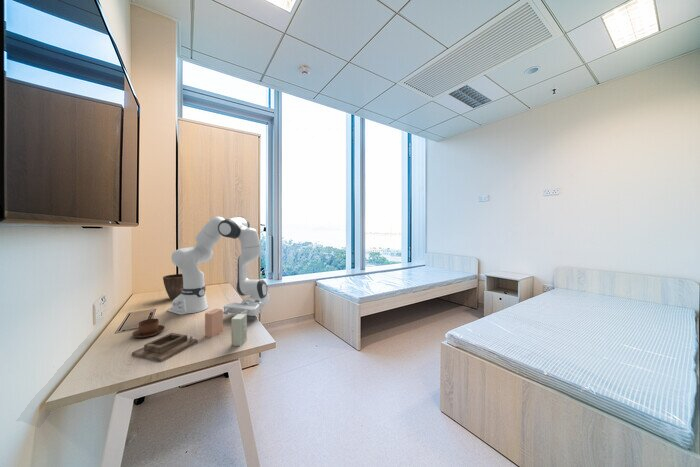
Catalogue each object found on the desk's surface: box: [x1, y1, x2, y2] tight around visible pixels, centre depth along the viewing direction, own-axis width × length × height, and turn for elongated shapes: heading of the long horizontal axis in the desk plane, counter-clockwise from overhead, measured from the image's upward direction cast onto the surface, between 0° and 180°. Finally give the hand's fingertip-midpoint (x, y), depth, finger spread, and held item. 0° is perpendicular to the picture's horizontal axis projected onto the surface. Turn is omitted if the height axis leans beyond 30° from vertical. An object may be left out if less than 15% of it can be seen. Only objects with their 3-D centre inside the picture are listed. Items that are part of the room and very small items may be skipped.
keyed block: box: [204, 308, 224, 338], centre depth 117 cm, size 4×6×11 cm, turn 164°
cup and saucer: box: [131, 318, 165, 338], centre depth 117 cm, size 12×12×6 cm
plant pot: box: [162, 273, 183, 301], centre depth 171 cm, size 15×15×16 cm
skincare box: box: [230, 314, 248, 347], centre depth 108 cm, size 6×4×12 cm
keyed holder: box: [131, 332, 199, 363], centre depth 103 cm, size 16×16×4 cm
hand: (231, 314), depth 128 cm, fingers open, 8 cm apart
